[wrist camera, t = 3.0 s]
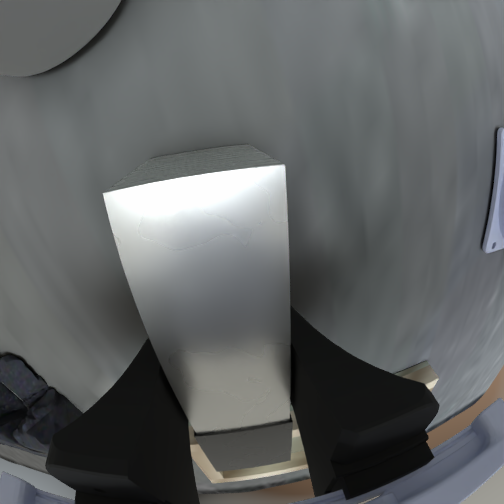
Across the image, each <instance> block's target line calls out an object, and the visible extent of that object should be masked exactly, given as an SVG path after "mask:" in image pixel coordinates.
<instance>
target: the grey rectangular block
mask: <svg viewBox="0 0 504 504" xmlns="http://www.w3.org/2000/svg"><path fill="white" fill-rule="evenodd" d="M103 196H104V200H105V204H106V208H107V212H108V216H109V220H110V224H111V228H112V231H113V235H114V239H115V242H116V246H117V249H118V252H119V256H120V259H121V262H122V265H123V268H124V271H125V274H126V278H127V280H128V283H129V286H130V289H131V292H132V295H133V298H134V300H135V303H136V306H137V309H138V311H139V314H140V316H141V319H142V322H143V324H144V327H145V329H146V332H147V334H148V336H149V339H150V341H151V344H152V346H153V348H154V351H155V353H156V355H157V357H158V360H159V362H160V364H161V366H162V368H163V371H164V373H165V375H166V377H167V379H168V381H169V383H170V385H171V387H172V389H173V391H174V393H175V395H176V397H177V399H178V401H179V403H180V405H181V407H182V409H183V411H184V413H185V414H186V416H187V418H188V420H189V422H190V424H191V425H192V427H193V429H194V437H195V439H196V441H197V442H198V444H199V446H200V447H201V449H202V450H203V452H204V453H205V455H206V457H207V458H208V460H209V461H210V463H211V464H212V466H213V467H214V469H215V470H216V472H220V471H230V470H238V469H246V468H253V467H259V466H265V465H271V464H276V463H281V462H286V461H291V448H292V430H293V421H292V417H291V414H290V372H291V321H290V267H289V237H288V213H287V193H286V175H285V165H284V164H283V163H281V162H279V161H277V160H276V159H274V158H272V157H270V156H269V155H267V154H265V153H263V152H261V151H260V150H258V149H256V148H254V147H252V146H250V145H249V144H241V145H232V146H224V147H216V148H209V149H202V150H196V151H189V152H183V153H177V154H171V155H166V156H161V157H155V158H151V159H149V160H148V161H147V162H145V163H144V164H142V165H141V166H139V167H138V168H136V169H135V170H134V171H132V172H131V173H129V174H128V175H127V176H125V177H124V178H123V179H121V180H120V181H119V182H117V183H116V184H115V185H113V186H112V187H111V188H109V189H108V190H107V191H106V192H104V193H103Z"/></svg>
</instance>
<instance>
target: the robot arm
mask: <svg viewBox="0 0 504 504" xmlns="http://www.w3.org/2000/svg"><path fill="white" fill-rule="evenodd" d="M482 248H483V251H484V252H486V253H491V252H494V251H497V250H500V249H503V248H504V128H502V127H500V128H499V129H498V132H497V153H496V167H495V178H494V186H493V194H492V201H491V207H490V213H489V218H488V223H487V228H486V233H485V238H484V242H483V247H482ZM290 321H291V372H290V401H291V404H292V407H293V410H294V414H295V417H296V421H297V425H298V428H299V432H300V436H301V440H302V444H303V448H304V452H305V456H306V460H307V464H308V468H309V473H310V477H311V481H312V486H313V490H314V495H315V497H314V498H311V499H307V500H303V501H298V502H294V503H290V504H358V503H361V502H364V501H366V500H369V499H371V498H374V497H376V496H379V495H380V496H379V497H377V498H375V499H373V500H371V501H369V502H367V503H364V504H460V503H461V502H462V501H464V500H465V499H466V498H468V497H469V496H470V495H471V494H472V493H474V492H475V491H476V490H477V489H478V488H479V487H481V486H482V485H483V484H484V483H485V482H486V481H487V480H488V479H490V478H491V477H492V476H493V475H494V474H495V473H496V472H497V471H498V470H499V469H500V468H501V467H502V466H503V465H504V401H503V400H502V399H501V398H499V399H497V400H496V401H495V402H494V403H492V404H491V405H490V406H489V407H487V408H486V409H485V410H484V411H482V412H481V413H480V414H479V415H478V416H477V417H476V418H475V419H474V421H473V422H472V423H471V425H469V426H468V427H467V428H466V429H464V430H462V431H461V432H459V433H458V434H456V435H455V436H453V437H452V438H450V439H449V440H447V441H445V442H444V443H442V444H440V445H439V446H437V447H435V448H433V449H432V450H430V448H429V446H428V444H427V443H426V441H427V440H428V435H427V433H426V431H425V429H426V428H427V426H428V425H429V424H430V423H431V421H432V420H433V419H434V417H435V416H436V414H437V413H438V410H439V404H438V402H437V401H436V399H435V397H434V396H433V394H432V393H431V391H430V390H429V389H428V388H427V386H426V385H425V384H424V383H422V382H418V381H414V380H411V379H407V378H404V377H400V376H397V375H395V374H392V373H389V372H387V371H384V370H382V369H379V368H377V367H375V366H373V365H371V364H369V363H367V362H365V361H362V360H360V359H358V358H357V357H355V356H353V355H351V354H350V353H348V352H346V351H345V350H343V349H342V348H340V347H339V346H337V345H336V344H334V343H333V342H332V341H330V340H329V339H328V338H326V337H325V336H324V335H322V334H321V333H320V332H319V331H317V330H316V329H315V328H314V327H313V326H312V325H310V324H309V323H308V322H307V321H306V320H305V319H304V318H303V317H302V316H301V315H300V314H299V313H298V312H297V311H296V310H295V309H294V308H293V307H292V306H291V305H290ZM45 466H46V469H47V471H48V472H49V473H50V474H51V475H52V476H54V477H55V478H57V479H58V480H60V481H61V482H63V483H64V484H66V485H68V486H69V487H71V488H73V489H74V490H76V496H75V500H72V499H68V498H65V497H61V496H58V495H55V494H51V493H48V492H45V491H42V490H39V489H37V488H35V487H34V486H32V485H31V484H29V483H28V482H26V481H24V480H22V479H20V478H18V477H16V476H13V475H11V474H8V473H6V472H2V474H1V478H0V504H200V503H199V498H198V493H197V488H196V482H195V476H194V470H193V464H192V456H191V447H190V437H189V426H188V418H187V416H186V414H185V413H184V411H183V409H182V407H181V405H180V403H179V401H178V399H177V397H176V395H175V393H174V391H173V389H172V387H171V385H170V383H169V381H168V379H167V377H166V375H165V373H164V371H163V368H162V366H161V364H160V362H159V360H158V357H157V355H156V353H155V351H154V348H153V346H152V344H151V341H150V339H149V337H148V339H147V340H146V342H145V343H144V345H143V346H142V348H141V350H140V351H139V353H138V354H137V356H136V357H135V358H134V360H133V361H132V363H131V364H130V365H129V367H128V368H127V370H126V371H125V372H124V373H123V375H122V376H121V377H120V378H119V380H118V381H117V382H116V383H115V384H114V385H113V386H112V388H111V389H110V390H109V391H108V392H107V393H106V394H105V395H104V396H103V397H101V398H100V399H99V400H98V401H97V402H96V403H95V404H94V405H93V406H92V407H91V408H90V409H89V410H87V411H86V412H85V413H84V414H82V415H81V416H80V417H79V418H77V419H76V420H75V421H73V422H72V423H70V424H69V425H67V426H66V427H64V428H63V429H61V430H60V431H58V432H57V433H55V434H54V435H53V436H52V439H51V443H50V447H49V451H48V456H47V460H46V465H45Z"/></svg>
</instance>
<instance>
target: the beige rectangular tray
mask: <svg viewBox="0 0 504 504" xmlns="http://www.w3.org/2000/svg"><path fill="white" fill-rule="evenodd" d="M395 375H397V376H400V377H404V378H407V379H411V380H414V381H418V382H422V383H424V384H425V385H426V386H427V388H428V389H429V390H430V391H432V389H433V387H434V386H435V384H436V382H437V380H438V379H439V377H438V376H437V375H436V373H435V372H434V370H433V369H432V368H431V366H430V365H429V364H428V362H427V361H425V362H422V363H420V364H418V365H415V366H413V367H411V368H408V369H406V370H403V371H401V372H398V373H396V374H395ZM290 414H291V417H292V421H293V430H292V448H291V461H286V462H281V463H276V464H271V465H265V466H259V467H253V468H246V469H238V470H230V471H220V472H216V470H215V469H214V467H213V466H212V464H211V463H210V461H209V460H208V458H207V457H206V455H205V453H204V452H203V450H202V449H201V447H200V446H199V444H198V442H197V441H196V439H195V437H194V429H193V427H192V425H191V424H190V422H189V420H188V426H189V437H190V447H191V456H192V458H193V459H194V461H195V462H196V463H197V465H198V466H199V467H200V468H201V470H202V471H203V472H204V473H205V475H206V476H207V477H208V478H209V479H210V481H211V482H212V483H222V482H232V481H240V480H248V479H255V478H261V477H267V476H273V475H278V474H283V473H288V472H292V471H297V470H301V469H305V468H308V464H307V460H306V456H305V452H304V448H303V444H302V440H301V436H300V432H299V428H298V425H297V421H296V417H295V414H294V410H293V407H292V405H290Z"/></svg>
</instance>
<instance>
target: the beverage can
mask: <svg viewBox="0 0 504 504" xmlns="http://www.w3.org/2000/svg"><path fill="white" fill-rule="evenodd" d="M120 2H121V0H0V75H3V76H13V77H27V76H31V75H35V74H39V73H42V72H45V71H47V70H49V69H51V68H53V67H55V66H57V65H59V64H61V63H62V62H64V61H65V60H67V59H68V58H70V57H71V56H73V55H74V54H75V53H76V52H78V51H79V50H80V49H81V48H82V47H84V46H85V45H86V44H87V43H88V42H89V41H90V40H91V39H92V38H93V37H94V36H95V35H96V34H97V33H98V32H99V31H100V30H101V29H102V27H103V26H104V25H105V24H106V23H107V21H108V20H109V19H110V17H111V16H112V14H113V13H114V12H115V10H116V9H117V7H118V5H119V3H120Z"/></svg>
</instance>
